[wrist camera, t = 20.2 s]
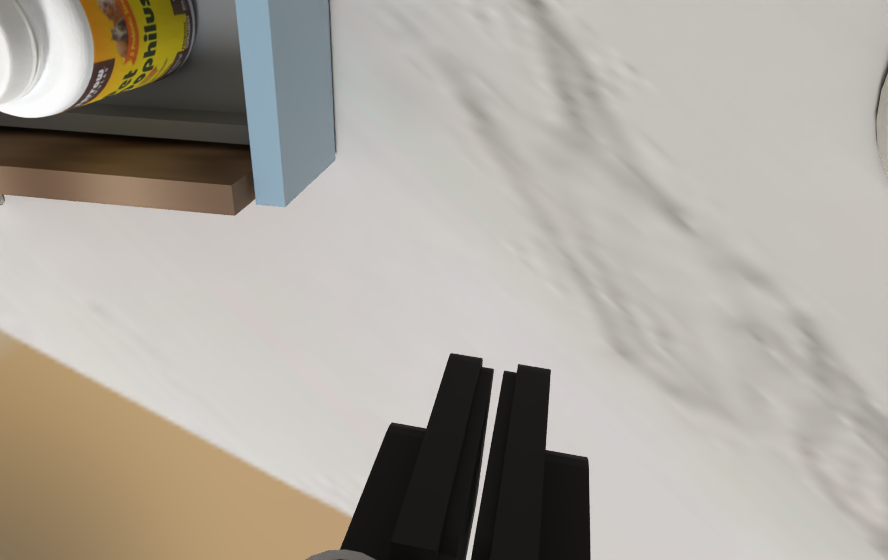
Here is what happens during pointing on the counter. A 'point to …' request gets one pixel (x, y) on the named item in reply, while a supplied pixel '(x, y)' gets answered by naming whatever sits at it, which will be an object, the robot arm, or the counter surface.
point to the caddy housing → (126, 170)
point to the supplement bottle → (87, 50)
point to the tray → (236, 93)
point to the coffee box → (1, 199)
